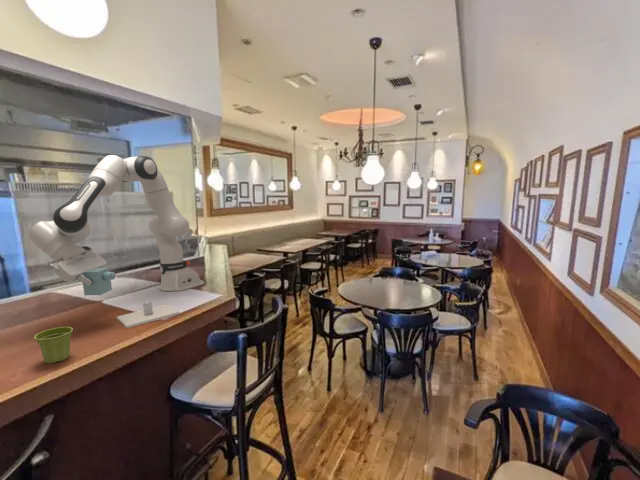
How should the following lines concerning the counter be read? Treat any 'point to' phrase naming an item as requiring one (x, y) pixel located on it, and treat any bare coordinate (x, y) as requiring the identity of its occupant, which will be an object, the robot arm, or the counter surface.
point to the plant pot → (55, 343)
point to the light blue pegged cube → (98, 281)
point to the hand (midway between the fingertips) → (98, 280)
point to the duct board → (147, 315)
